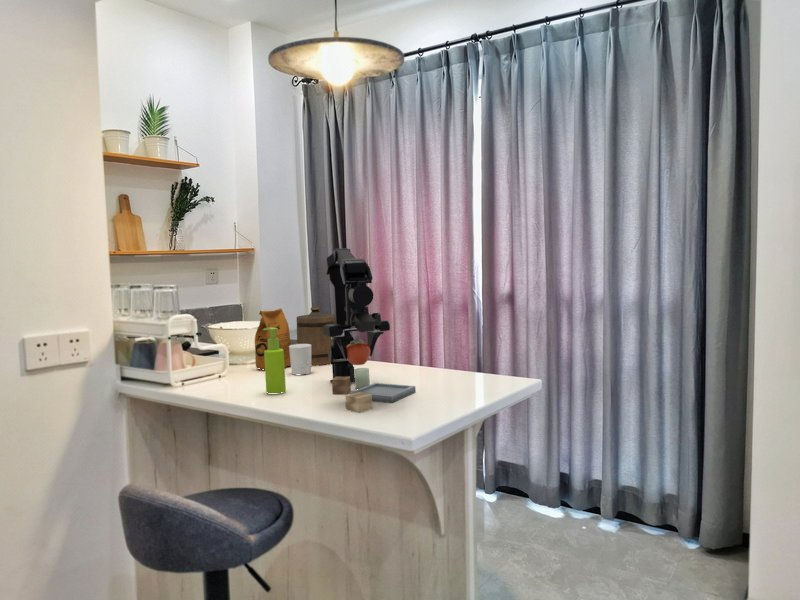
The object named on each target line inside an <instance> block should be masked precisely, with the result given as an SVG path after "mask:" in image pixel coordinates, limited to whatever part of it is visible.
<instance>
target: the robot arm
mask: <svg viewBox="0 0 800 600" xmlns="http://www.w3.org/2000/svg"><path fill="white" fill-rule="evenodd" d="M366 261H367V260H365V259H364V258H357V257H356V256H354V254H353V253H352V252H351V248H347V247H345V248H341V247H340V248H334V249H333V252H332V254H330V255H329V256H328V257H326V259H325V264H324V272H325V275H326V276H327V281H328V282H329V284H330V286H331V287H332V294H333V296H332V297H333V298H332V300H333V310H334V311H333V313H334V314H333V315H334V317H335V323H334V324H329V325H325V326H324V328H323V334H324V335H327V336H330V337H332V339H331V346H330V348H329V355H328V358H329V363H330V364H329V365H332V366H331V369H332V371H331V372H332V379H333V378H335V377H350V383H351V382H353V381H355V366H354V365H353V364H351V363H350V362H349V361H348V359H347V347H346V346H347V345H348V344H350V342H351V341H353V340H355V338H354V337H353V336H352V335H351V332H360V333H365V332H366V337H367V339H366V341H367V344H368V345H369V346H370V349H371V353H370V357H372V356H373V353H374V350H375V346H376V344H377V341H378V338H379V337H380V336H381V335H384V332H387V331H391V324H390V321H388V320H385V319H382V318H381V317H382V315H381V313H380V312H373V313H369V307H368V306H369V305H370V304H371V303H372V302H373V300H374V293H373V290H372V289H371V288H370V287H369V286H368V285H367V284H372V280H373V274H372V272H371V267H370V266H369V264H368V263H367V262H366ZM333 359H335V360H333ZM332 379H330V380H329V382H331V383H332Z"/></svg>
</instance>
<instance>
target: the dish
mask: <svg viewBox="0 0 800 600" xmlns="http://www.w3.org/2000/svg"><path fill="white" fill-rule="evenodd" d="M358 392H362V393H367V394H372V402H379V403H389V404H390V403H391V404H392V403H393V404H394V403H395V402H397V401H399V400H401V399H403V398H404V399H405V398H406V397H408V396H410V395H412V394H414V393H416V392H417V391H416V386H415V385H410V384H409V385H408V384H407V385H406V384H394V383H383V382H374V383H370V385H368V386H365V387H363V388H360V389H358V390H357V389H355V390H353V391H350V392H349V394H354V393H358Z"/></svg>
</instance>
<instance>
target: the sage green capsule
mask: <svg viewBox="0 0 800 600" xmlns="http://www.w3.org/2000/svg"><path fill="white" fill-rule="evenodd" d="M354 372H355V380H354V383H355V386H354V387H355V390H357V389H360V388H363V387H365V386H368V385H371V383H370V368H367V367H357V368H354Z"/></svg>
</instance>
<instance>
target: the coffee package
mask: <svg viewBox="0 0 800 600" xmlns="http://www.w3.org/2000/svg"><path fill="white" fill-rule="evenodd" d="M259 316H261V318H260V321H259V324H258V327H257V328H256V332H255V334H254V335H255V336H254V350H255V351H254V352H255V367H256V369H257V368H260V369H264V370H263V371H265V359H264V351H265V350H268V339H269V338H270V330H263V329H264V328H270V327H274V328H278V330H277V331H276V338H278V339H279V349H283V350H284V366H285V367H287V366H289V367H291V363H290V354H289V346H290V345H292V344H291V335H290V333H291V332H290V327H289V323H288V320H287V318H286V316H285V313H284V311H283V309H282V308H277V309H275V310H259ZM287 368H288V367H287Z"/></svg>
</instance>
